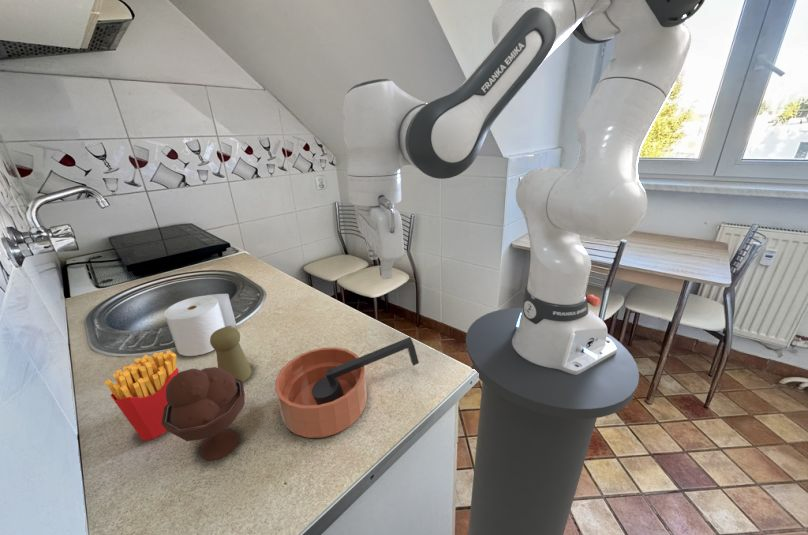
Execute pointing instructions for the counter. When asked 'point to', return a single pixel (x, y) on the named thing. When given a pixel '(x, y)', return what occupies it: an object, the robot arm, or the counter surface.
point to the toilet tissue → (198, 322)
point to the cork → (230, 352)
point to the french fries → (144, 392)
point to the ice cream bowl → (204, 409)
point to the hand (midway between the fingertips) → (379, 267)
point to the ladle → (330, 385)
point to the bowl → (300, 403)
